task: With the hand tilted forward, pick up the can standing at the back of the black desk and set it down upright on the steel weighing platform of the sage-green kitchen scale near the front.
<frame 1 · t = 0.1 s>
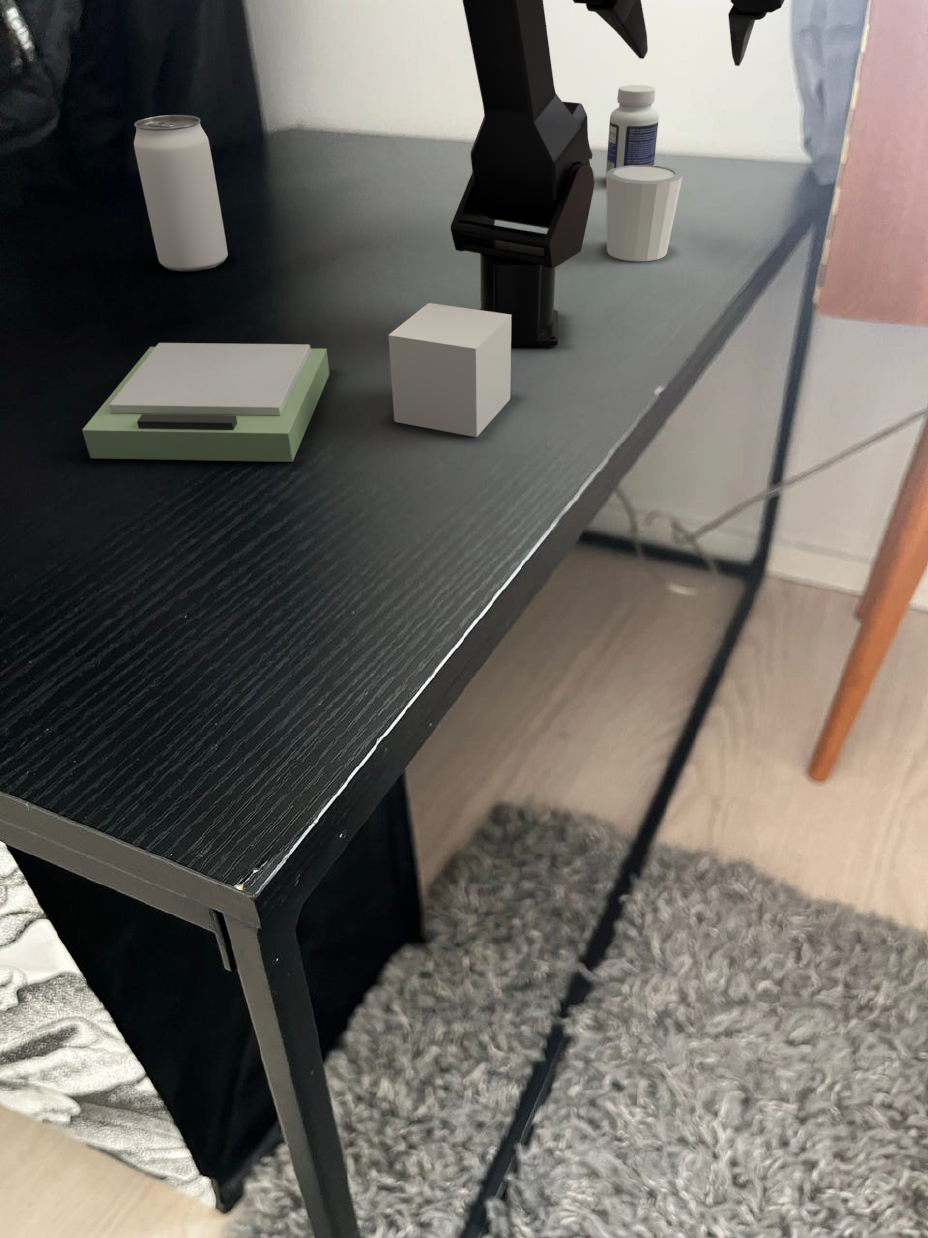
hand: (690, 58, 86), 15 cm above the table, tool tilted 35°, fingers open, 9 cm apart
white cup: (636, 253, 89), on the table
scale: (218, 413, 64), on the table
pill bottle: (628, 184, 109), on the table
can: (194, 263, 89), on the table
white cube: (453, 412, 64), on the table
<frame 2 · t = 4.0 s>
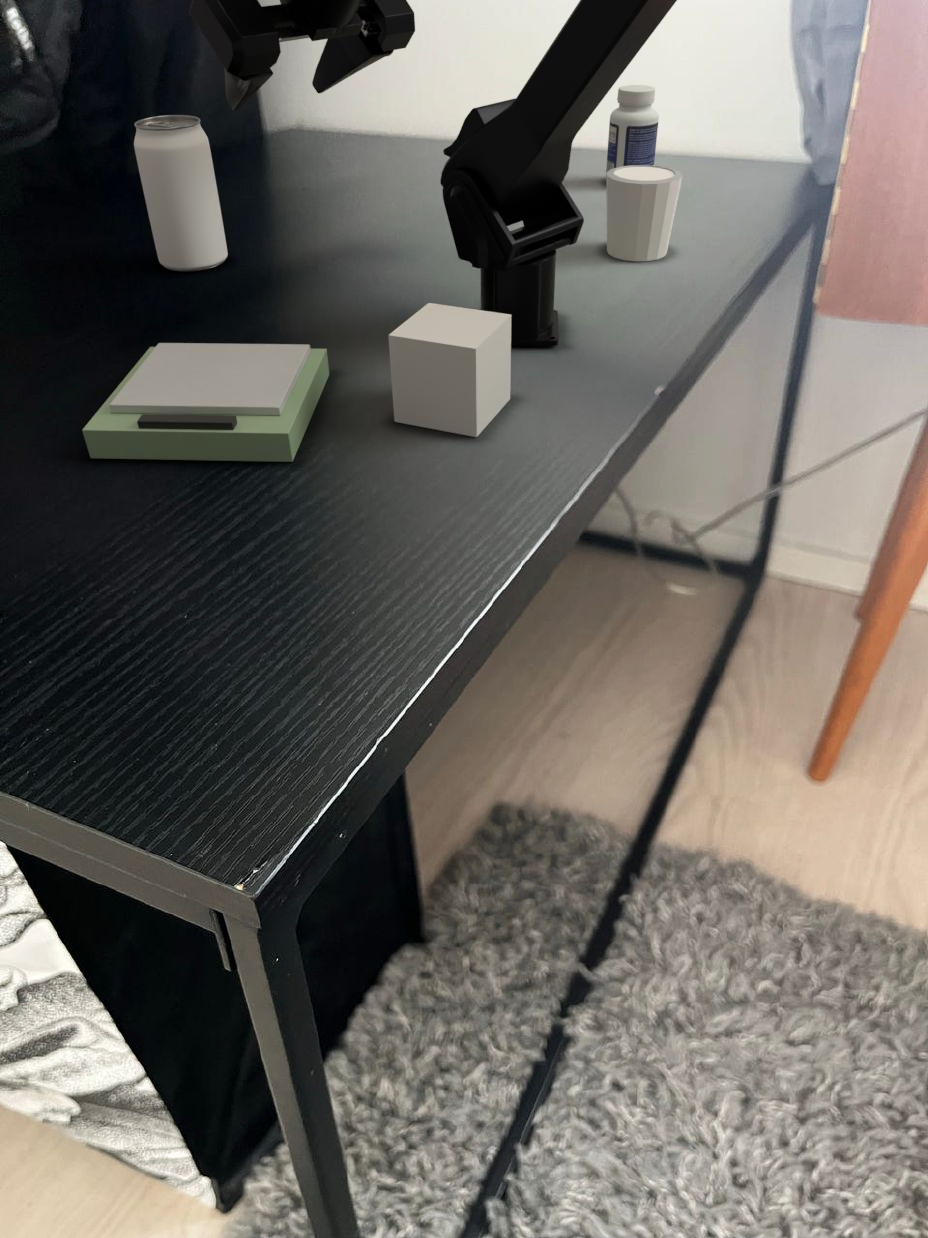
hand: (275, 96, 81), 14 cm above the table, tool tilted 45°, fingers open, 9 cm apart
nothing on the table moved.
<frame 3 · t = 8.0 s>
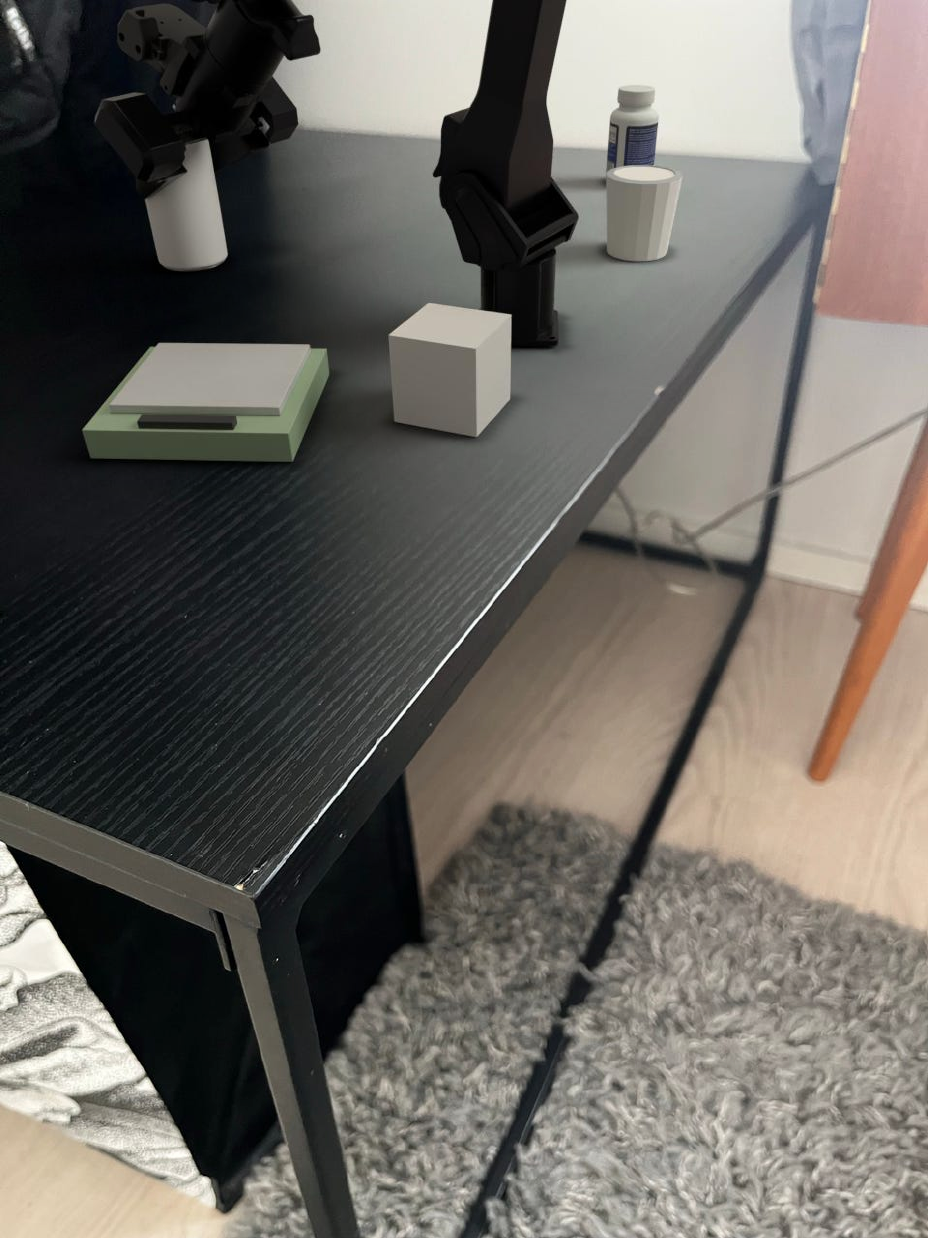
hand: (169, 185, 86), 7 cm above the table, tool tilted 45°, fingers closed on can, 6 cm apart
can: (194, 263, 89), on the table, touching gripper
everything else where it was.
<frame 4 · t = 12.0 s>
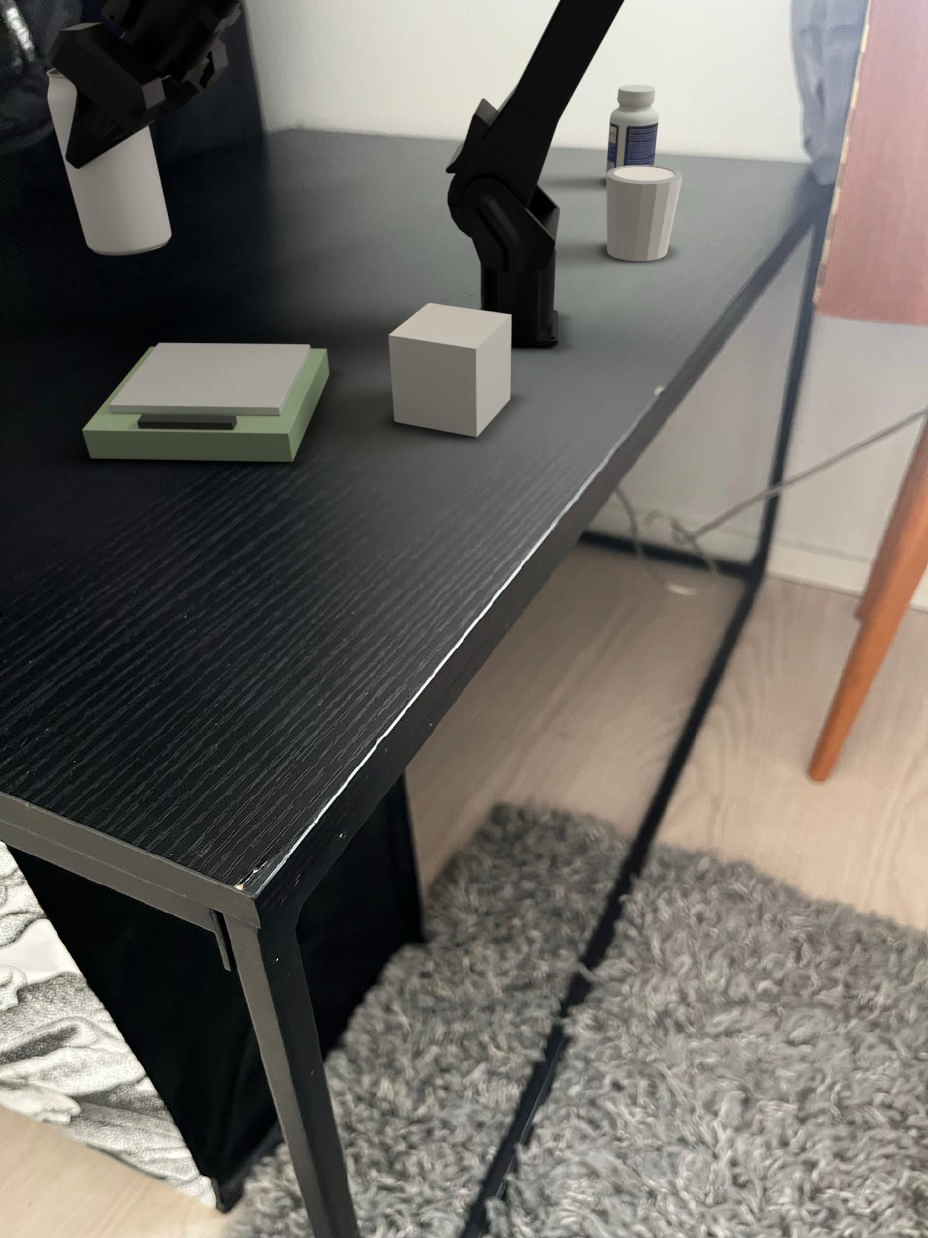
hand: (90, 152, 70), 13 cm above the table, tool tilted 45°, fingers closed on can, 6 cm apart
can: (131, 246, 74), point 6 cm above the table, touching gripper
everything else where it was.
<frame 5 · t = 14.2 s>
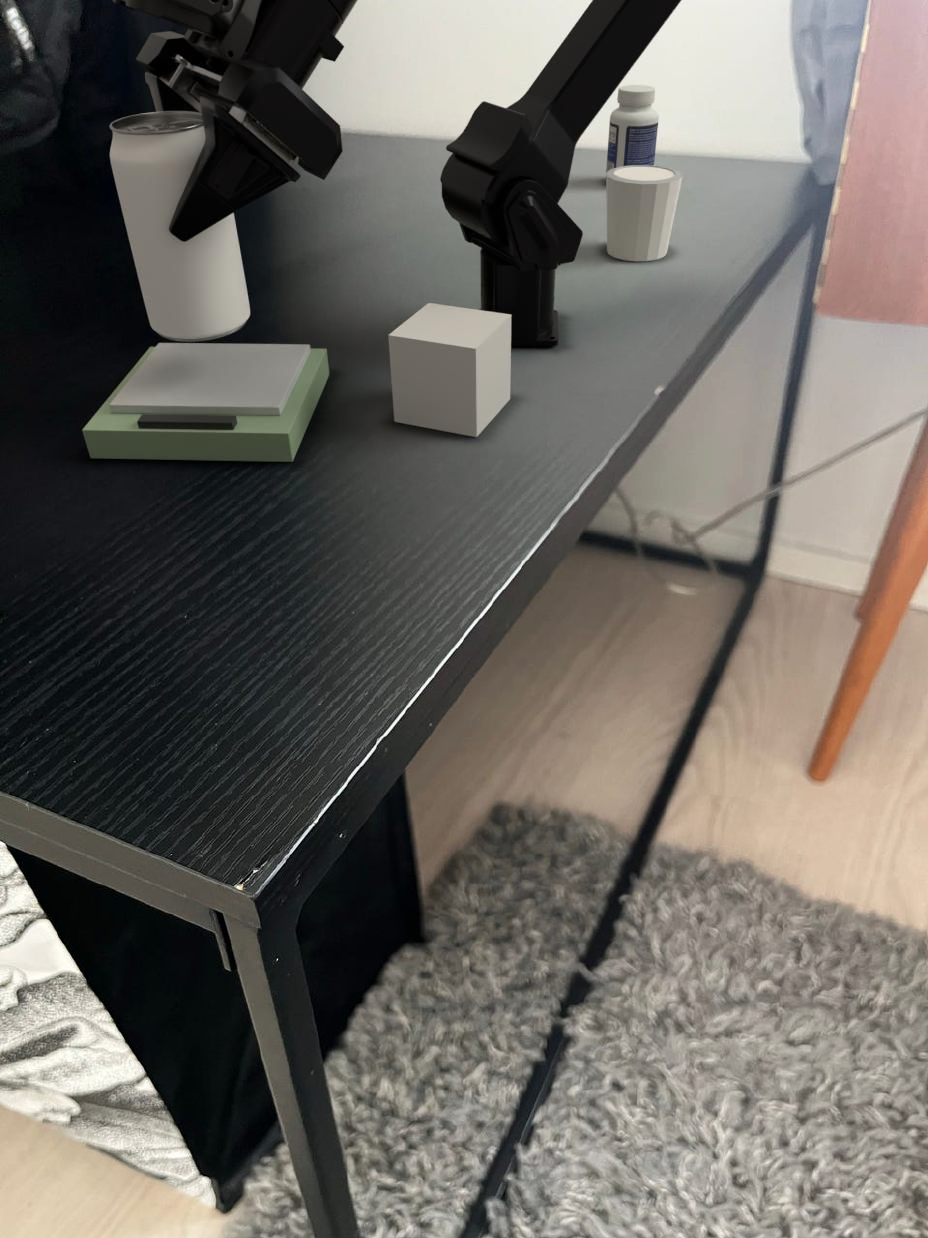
hand: (158, 222, 57), 12 cm above the table, tool tilted 45°, fingers closed on can, 6 cm apart
can: (202, 326, 62), point 6 cm above the table, touching gripper
everything else where it was.
when the fingers open (9 cm above the table, at t = 16.1 s): can stays where it is, resting on scale.
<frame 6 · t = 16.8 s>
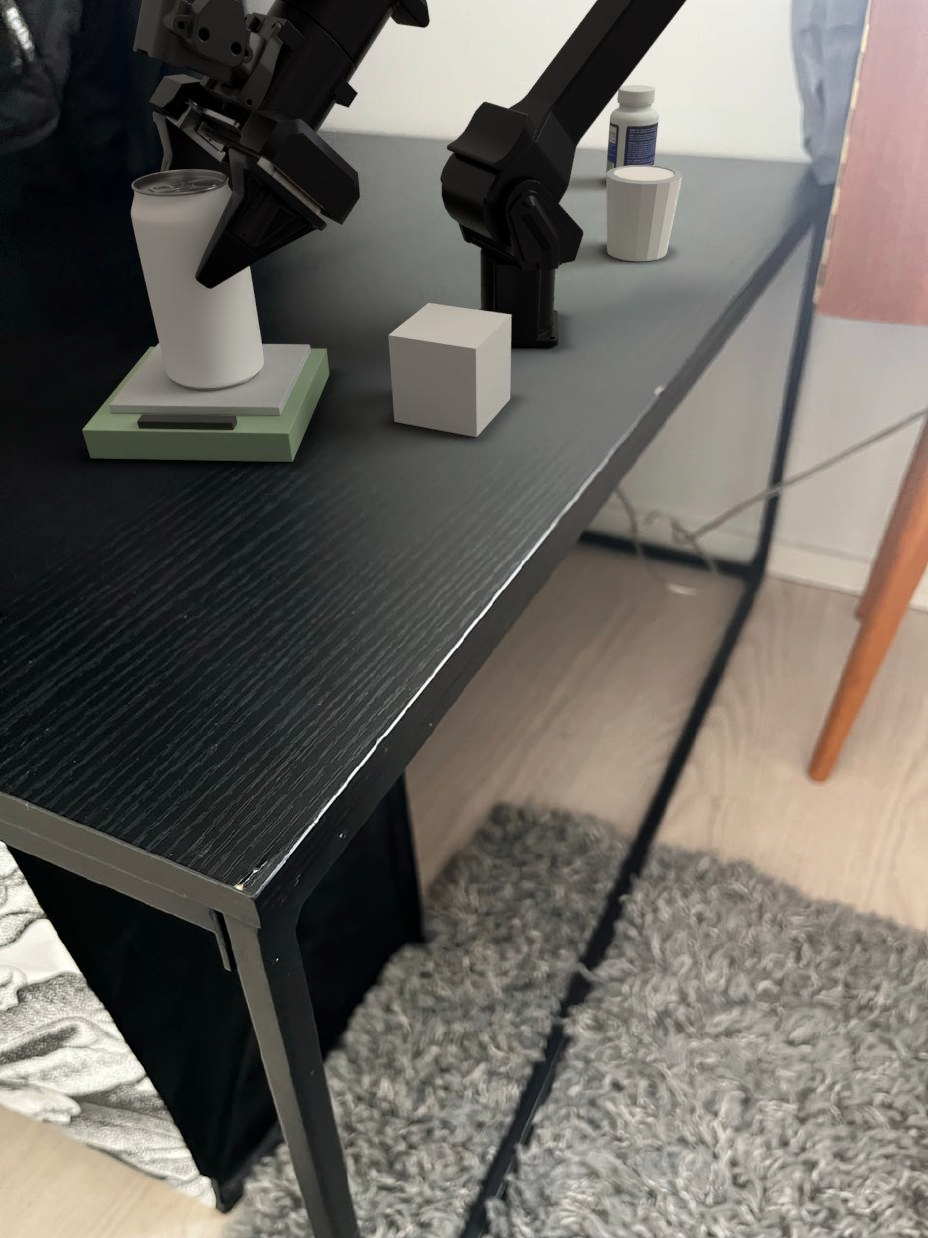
hand: (174, 263, 58), 10 cm above the table, tool tilted 45°, fingers open, 9 cm apart
can: (217, 374, 63), point 2 cm above the table, touching scale
everything else where it was.
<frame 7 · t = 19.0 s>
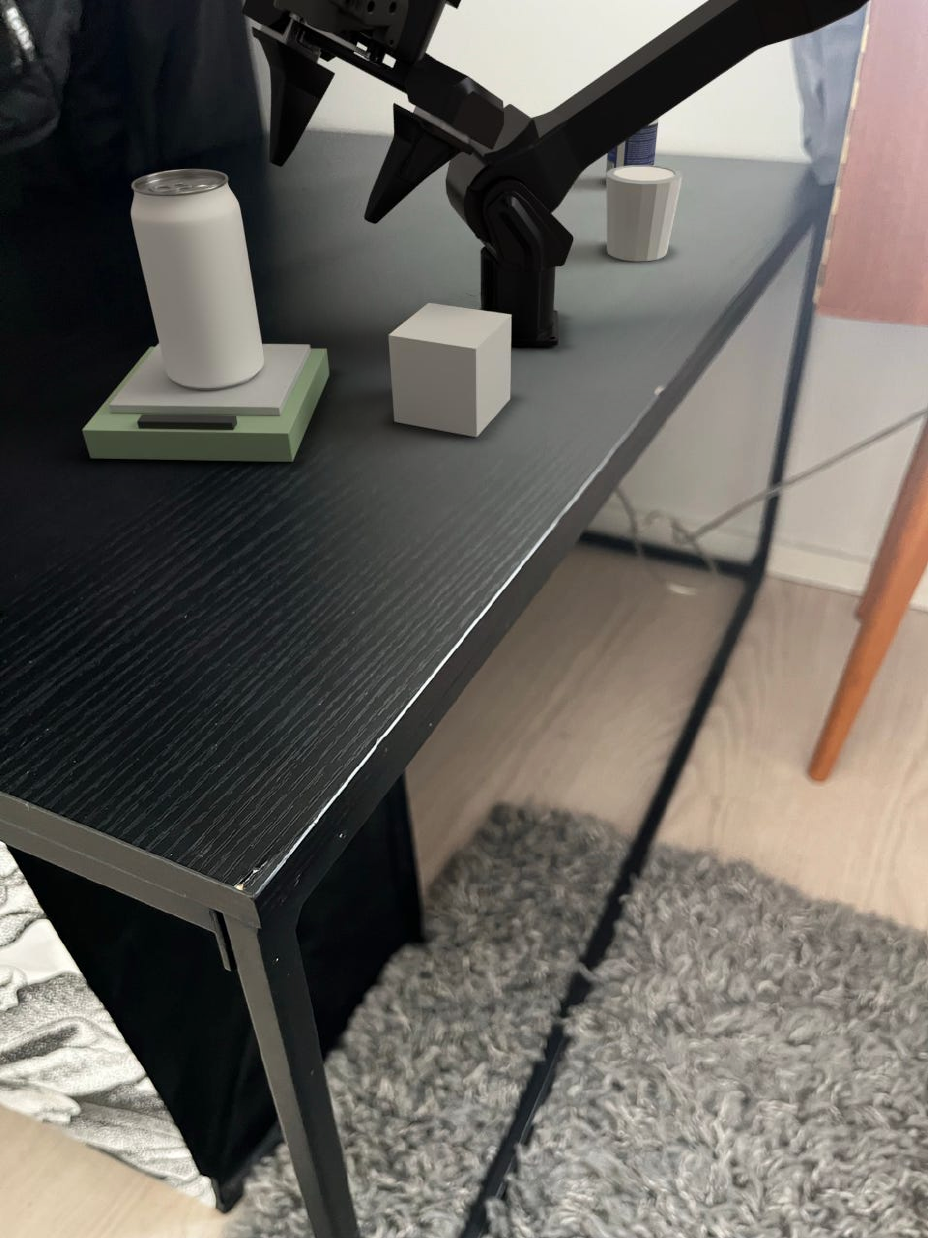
hand: (321, 192, 63), 12 cm above the table, tool tilted 30°, fingers open, 9 cm apart
nothing on the table moved.
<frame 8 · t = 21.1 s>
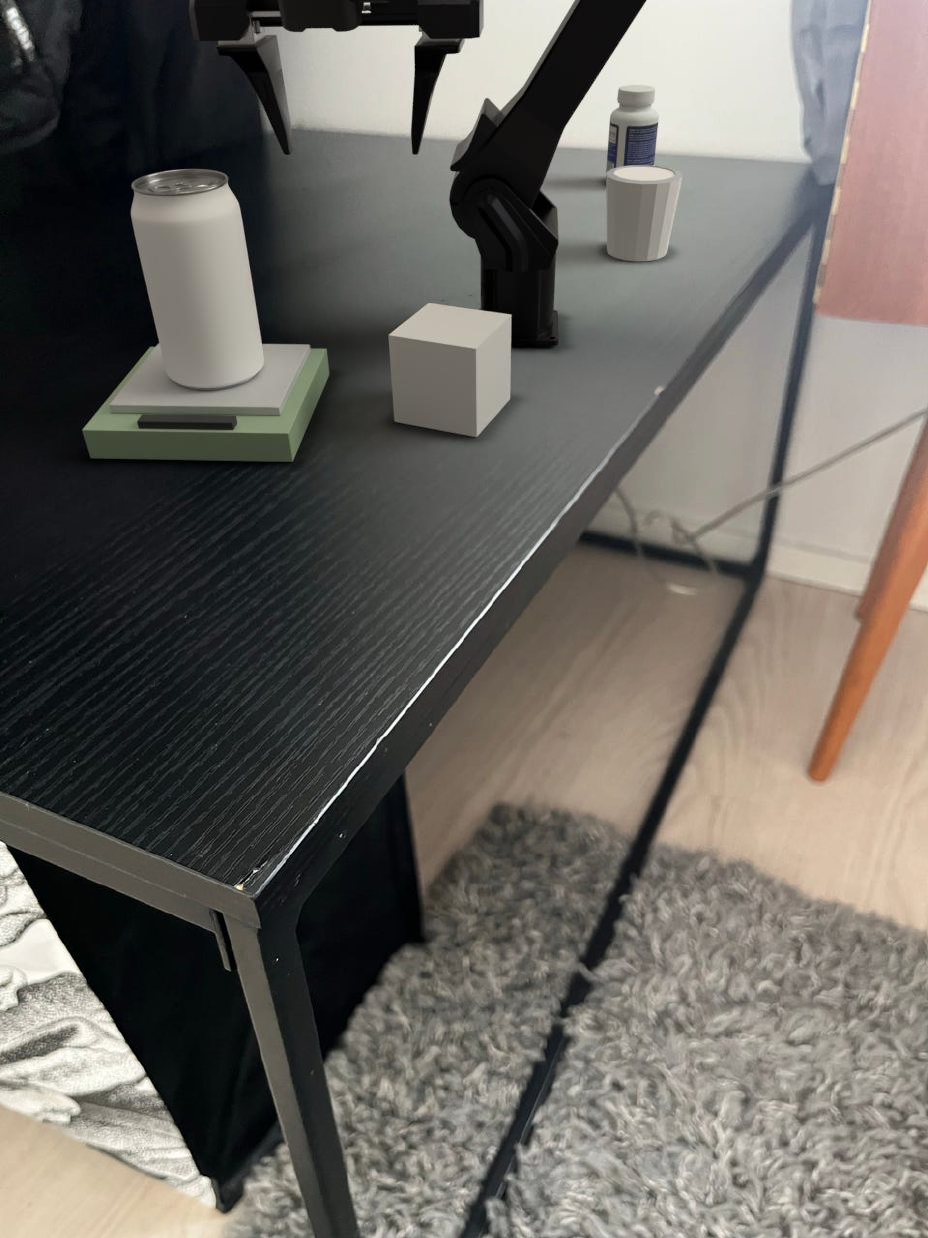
hand: (351, 153, 67), 13 cm above the table, tool pointing down, fingers open, 9 cm apart
nothing on the table moved.
at the end: can inside the target area on the scale (0.2 cm from its centre), point 2.4 cm above the scale's base; can tilted 0°; the gripper is holding nothing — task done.
